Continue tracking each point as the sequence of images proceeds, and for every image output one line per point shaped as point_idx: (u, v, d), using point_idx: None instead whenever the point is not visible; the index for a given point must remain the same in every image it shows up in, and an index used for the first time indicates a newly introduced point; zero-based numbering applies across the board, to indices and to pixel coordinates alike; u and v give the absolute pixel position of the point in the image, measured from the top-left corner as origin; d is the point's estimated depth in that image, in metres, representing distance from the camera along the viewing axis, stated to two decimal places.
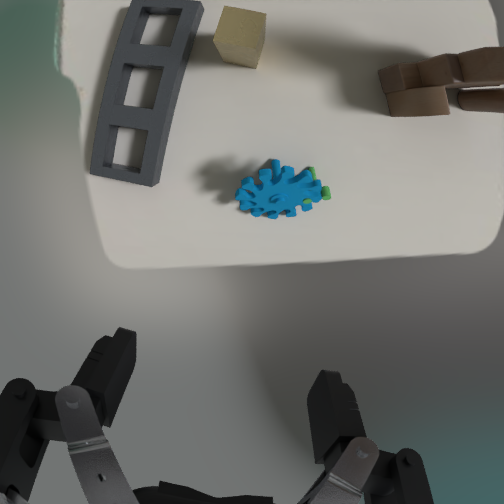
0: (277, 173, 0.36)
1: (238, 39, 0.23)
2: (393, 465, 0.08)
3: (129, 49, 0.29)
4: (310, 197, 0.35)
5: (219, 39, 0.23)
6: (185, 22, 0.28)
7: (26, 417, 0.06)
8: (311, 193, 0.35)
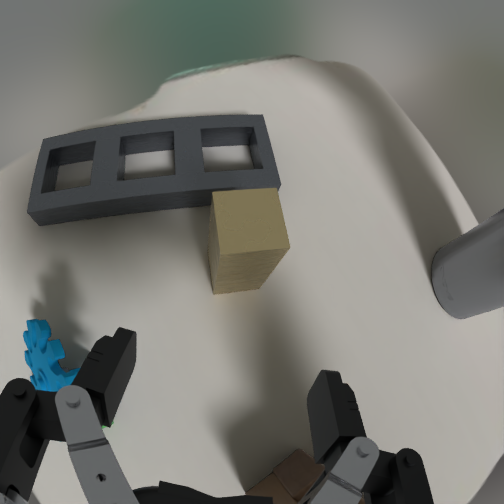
0: None
1: (227, 224, 0.18)
2: (393, 465, 0.08)
3: (192, 130, 0.28)
4: None
5: (217, 199, 0.18)
6: (244, 178, 0.27)
7: (26, 417, 0.06)
8: None
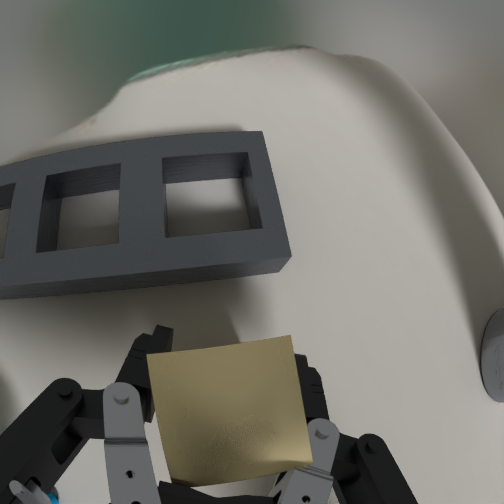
0: None
1: (181, 431, 0.07)
2: (356, 454, 0.08)
3: (149, 162, 0.18)
4: None
5: (158, 374, 0.07)
6: (230, 247, 0.17)
7: (67, 417, 0.07)
8: None
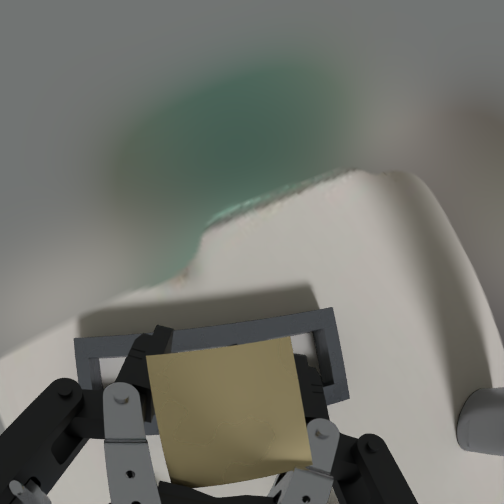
0: None
1: (181, 432, 0.07)
2: (356, 453, 0.08)
3: None
4: None
5: (157, 375, 0.07)
6: None
7: (67, 417, 0.07)
8: None
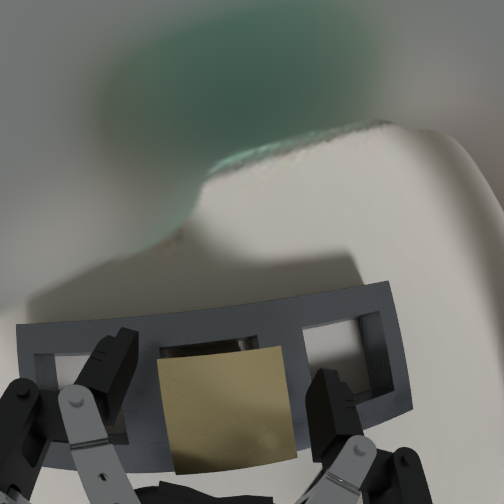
0: None
1: (185, 425, 0.08)
2: (391, 464, 0.08)
3: (289, 333, 0.17)
4: None
5: (166, 376, 0.09)
6: (371, 413, 0.16)
7: (29, 416, 0.06)
8: None
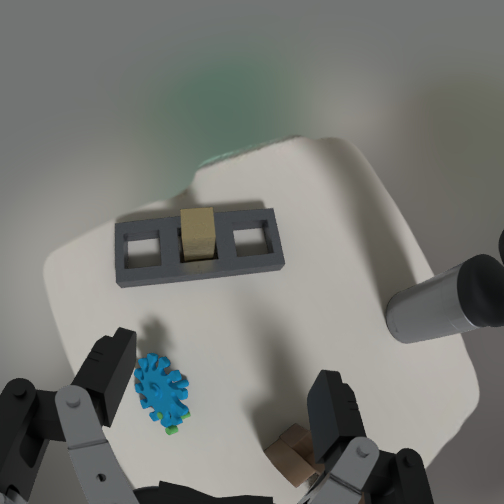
0: (177, 386, 0.37)
1: (186, 225, 0.37)
2: (393, 465, 0.08)
3: (226, 224, 0.45)
4: (164, 417, 0.34)
5: (182, 213, 0.37)
6: (262, 260, 0.44)
7: (26, 417, 0.06)
8: (167, 417, 0.34)
